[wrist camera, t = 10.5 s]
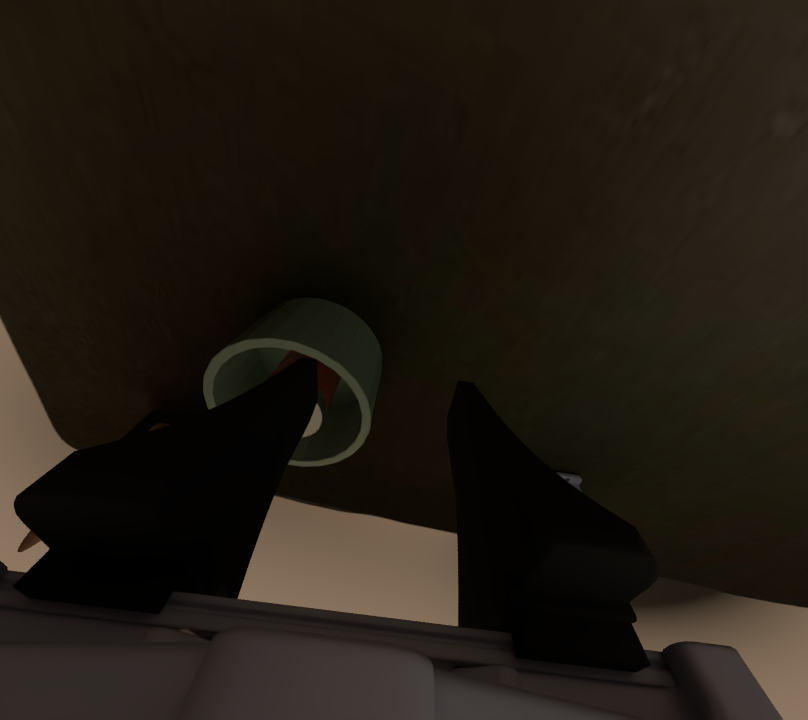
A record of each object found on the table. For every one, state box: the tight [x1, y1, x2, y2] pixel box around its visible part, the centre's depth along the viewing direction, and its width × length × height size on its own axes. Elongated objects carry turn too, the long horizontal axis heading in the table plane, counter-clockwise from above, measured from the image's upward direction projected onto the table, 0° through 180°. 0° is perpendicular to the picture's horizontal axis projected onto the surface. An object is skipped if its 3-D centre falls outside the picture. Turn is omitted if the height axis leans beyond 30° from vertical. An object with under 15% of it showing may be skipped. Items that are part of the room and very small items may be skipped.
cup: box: [203, 298, 383, 467], centre depth 21 cm, size 10×10×6 cm
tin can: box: [267, 350, 341, 438], centre depth 21 cm, size 4×4×6 cm
